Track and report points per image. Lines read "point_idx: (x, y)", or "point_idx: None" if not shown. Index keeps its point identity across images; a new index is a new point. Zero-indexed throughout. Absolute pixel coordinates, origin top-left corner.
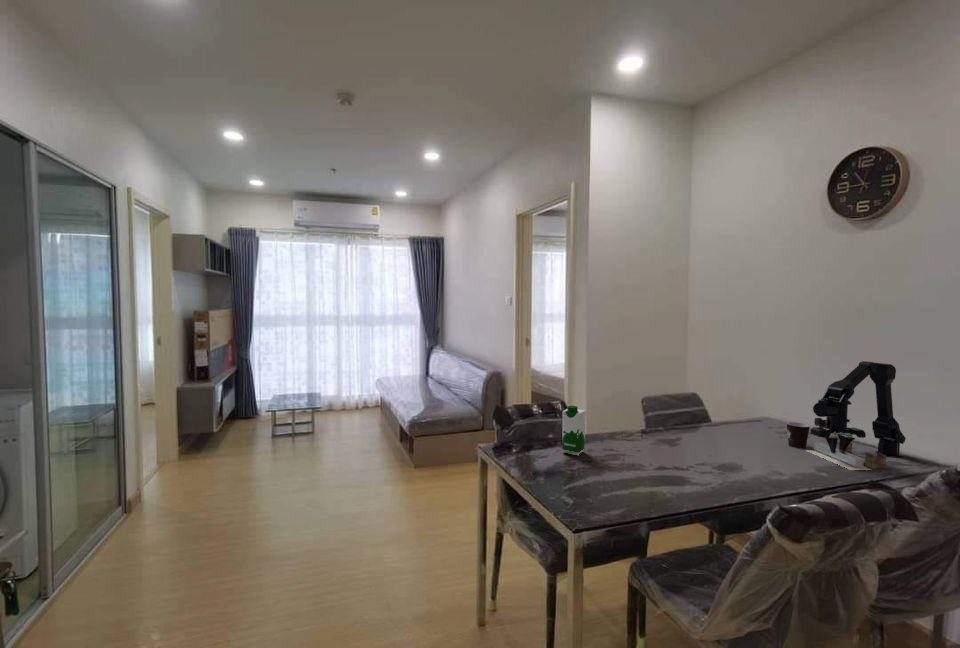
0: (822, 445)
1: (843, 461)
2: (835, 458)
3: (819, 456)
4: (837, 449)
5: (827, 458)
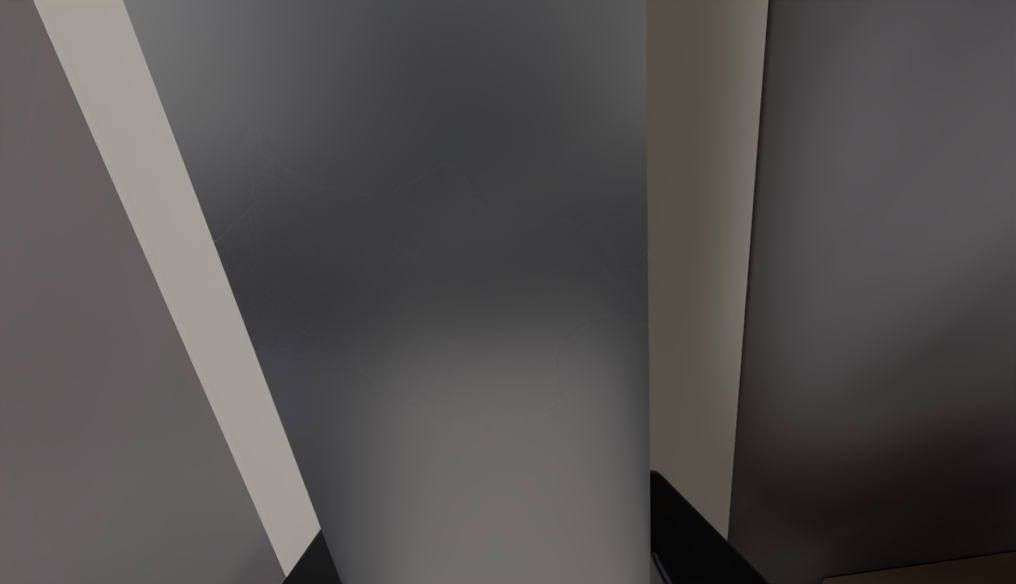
0: (139, 26)
1: None
2: None
3: (116, 166)
4: (561, 573)
5: (260, 372)
